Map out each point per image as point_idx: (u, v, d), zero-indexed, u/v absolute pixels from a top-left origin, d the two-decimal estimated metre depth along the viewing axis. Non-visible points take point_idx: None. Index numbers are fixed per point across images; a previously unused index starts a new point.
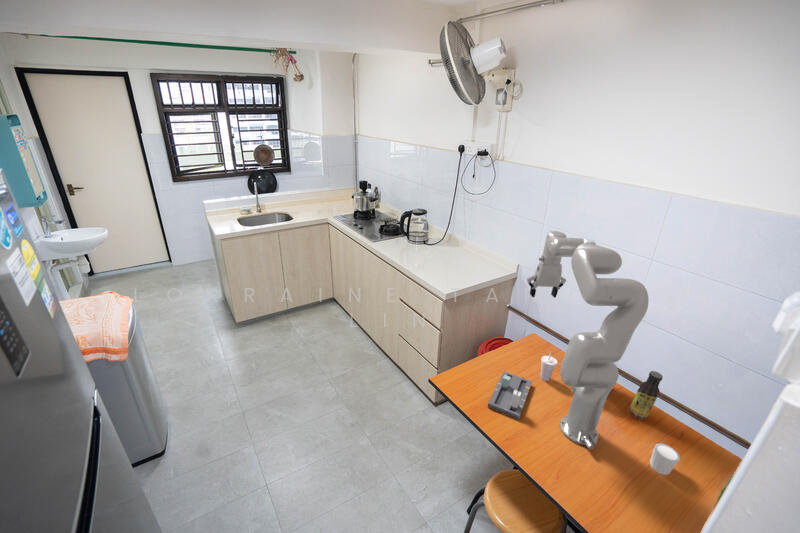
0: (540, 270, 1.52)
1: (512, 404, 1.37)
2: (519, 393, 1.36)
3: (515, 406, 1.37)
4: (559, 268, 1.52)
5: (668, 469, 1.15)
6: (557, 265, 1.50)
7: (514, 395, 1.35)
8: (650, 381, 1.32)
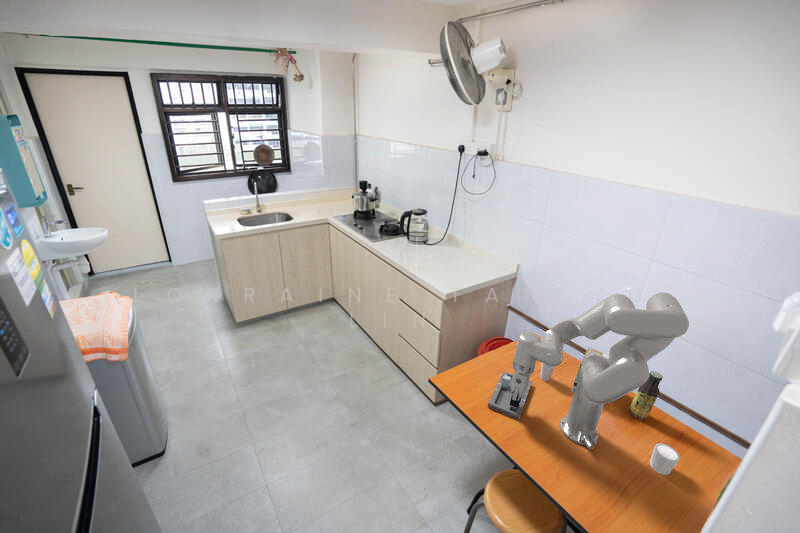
0: (524, 382, 1.27)
1: None
2: None
3: None
4: None
5: (668, 469, 1.15)
6: None
7: None
8: (650, 381, 1.32)
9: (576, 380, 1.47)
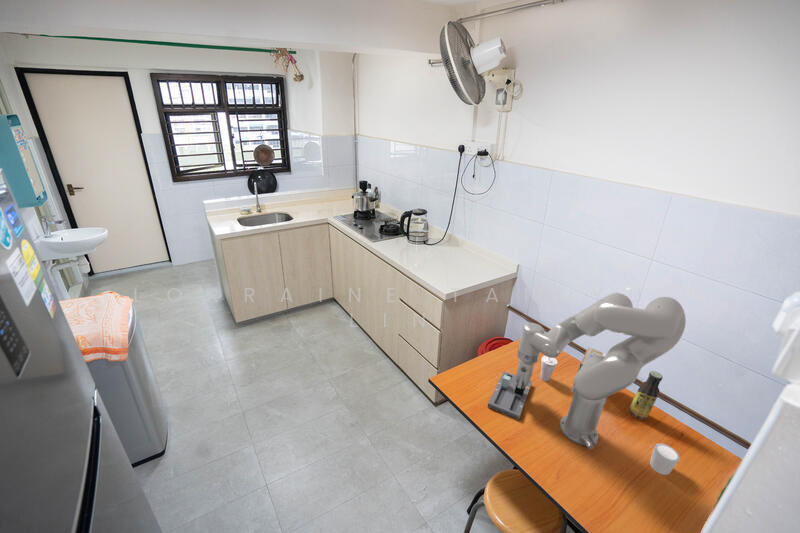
0: (528, 371, 1.33)
1: None
2: None
3: None
4: None
5: (668, 469, 1.15)
6: None
7: None
8: (650, 381, 1.32)
9: None
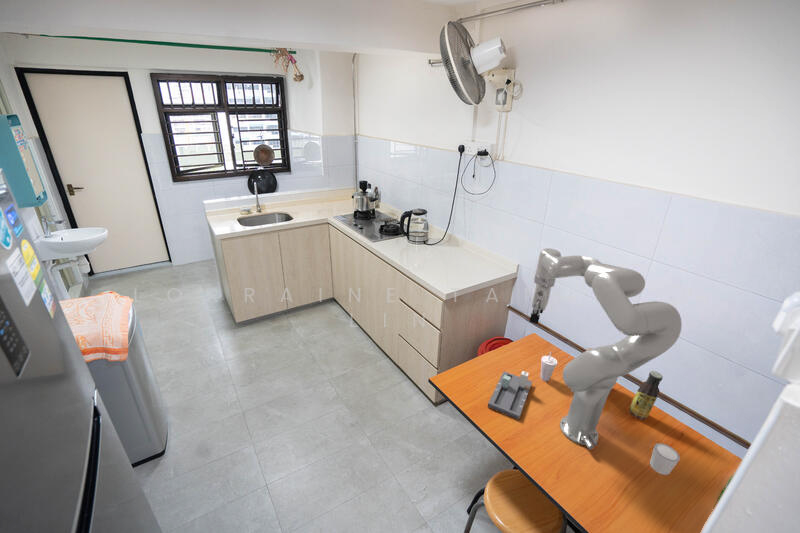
0: (545, 294, 1.38)
1: (520, 384, 1.47)
2: (527, 373, 1.46)
3: (523, 386, 1.47)
4: None
5: (668, 469, 1.15)
6: None
7: (522, 375, 1.46)
8: (650, 381, 1.32)
9: None
